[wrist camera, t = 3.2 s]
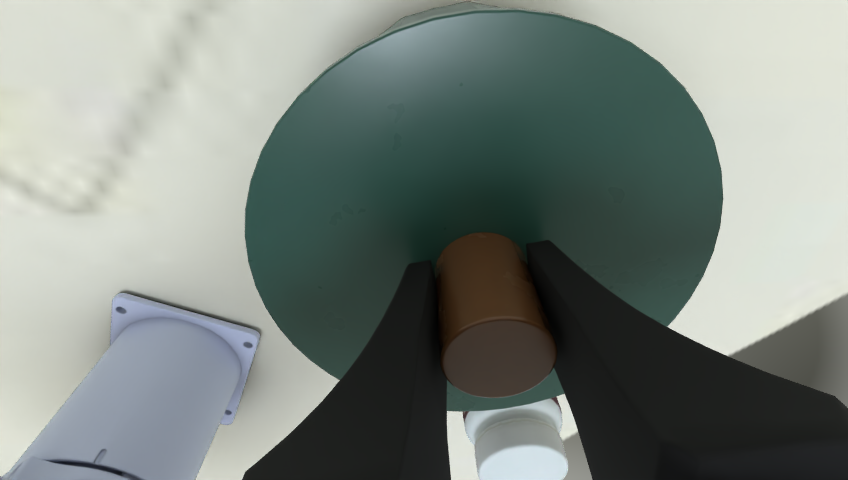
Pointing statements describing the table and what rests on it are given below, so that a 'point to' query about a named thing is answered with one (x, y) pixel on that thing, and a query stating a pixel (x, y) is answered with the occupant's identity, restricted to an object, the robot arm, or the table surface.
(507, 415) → the pill bottle
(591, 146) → the pan lid
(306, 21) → the table surface
